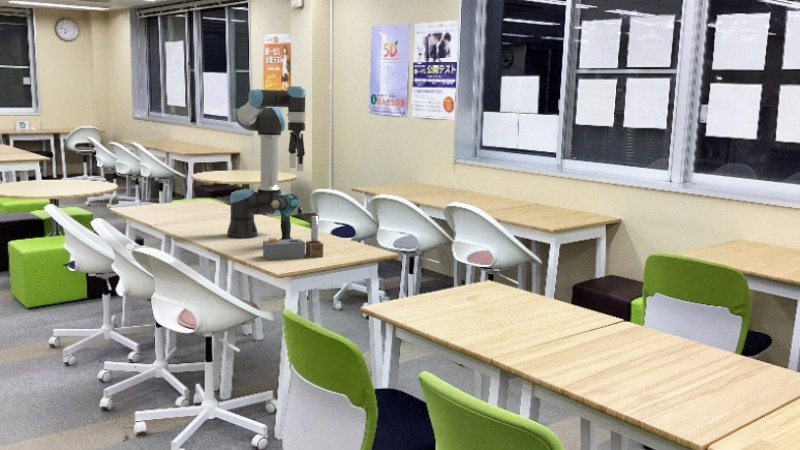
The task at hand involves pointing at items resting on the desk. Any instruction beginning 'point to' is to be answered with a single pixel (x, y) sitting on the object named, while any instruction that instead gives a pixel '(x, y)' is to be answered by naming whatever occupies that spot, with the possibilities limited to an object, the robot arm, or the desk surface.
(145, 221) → the desk surface
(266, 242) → the socket block
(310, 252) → the hollow brown square tube
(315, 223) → the cylinder
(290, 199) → the power drill
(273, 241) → the plunger
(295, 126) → the robot arm
